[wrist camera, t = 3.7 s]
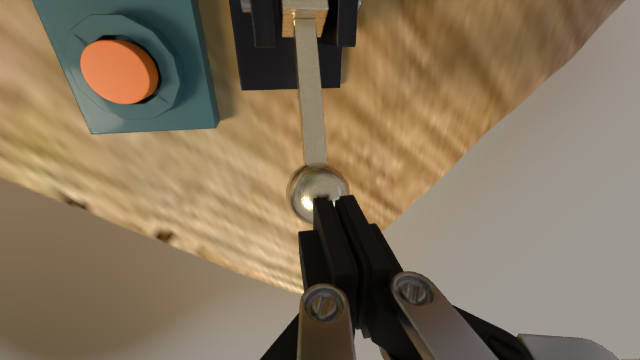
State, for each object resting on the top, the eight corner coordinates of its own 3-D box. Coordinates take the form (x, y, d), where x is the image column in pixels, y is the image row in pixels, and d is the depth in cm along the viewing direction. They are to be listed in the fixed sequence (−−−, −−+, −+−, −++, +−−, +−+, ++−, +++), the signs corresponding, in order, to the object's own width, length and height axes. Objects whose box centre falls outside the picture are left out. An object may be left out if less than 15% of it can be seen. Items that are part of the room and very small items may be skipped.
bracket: (337, 85, 25) (384, 119, 15) (242, 88, 24) (224, 127, 14) (343, -82, 20) (424, -206, 10) (218, -91, 18) (157, -249, 8)
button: (108, 100, 20) (94, 105, 18) (84, 39, 18) (67, 39, 16) (165, 98, 20) (157, 103, 19) (149, 39, 18) (138, 40, 17)
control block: (104, 126, 24) (77, 142, 20) (49, -9, 19) (0, -19, 15) (220, 121, 25) (212, 135, 22) (196, -5, 20) (182, -13, 17)
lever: (343, 217, 15) (360, 225, 12) (287, 223, 14) (290, 233, 11) (324, -7, 15) (336, -57, 12) (268, -8, 15) (265, -62, 11)
